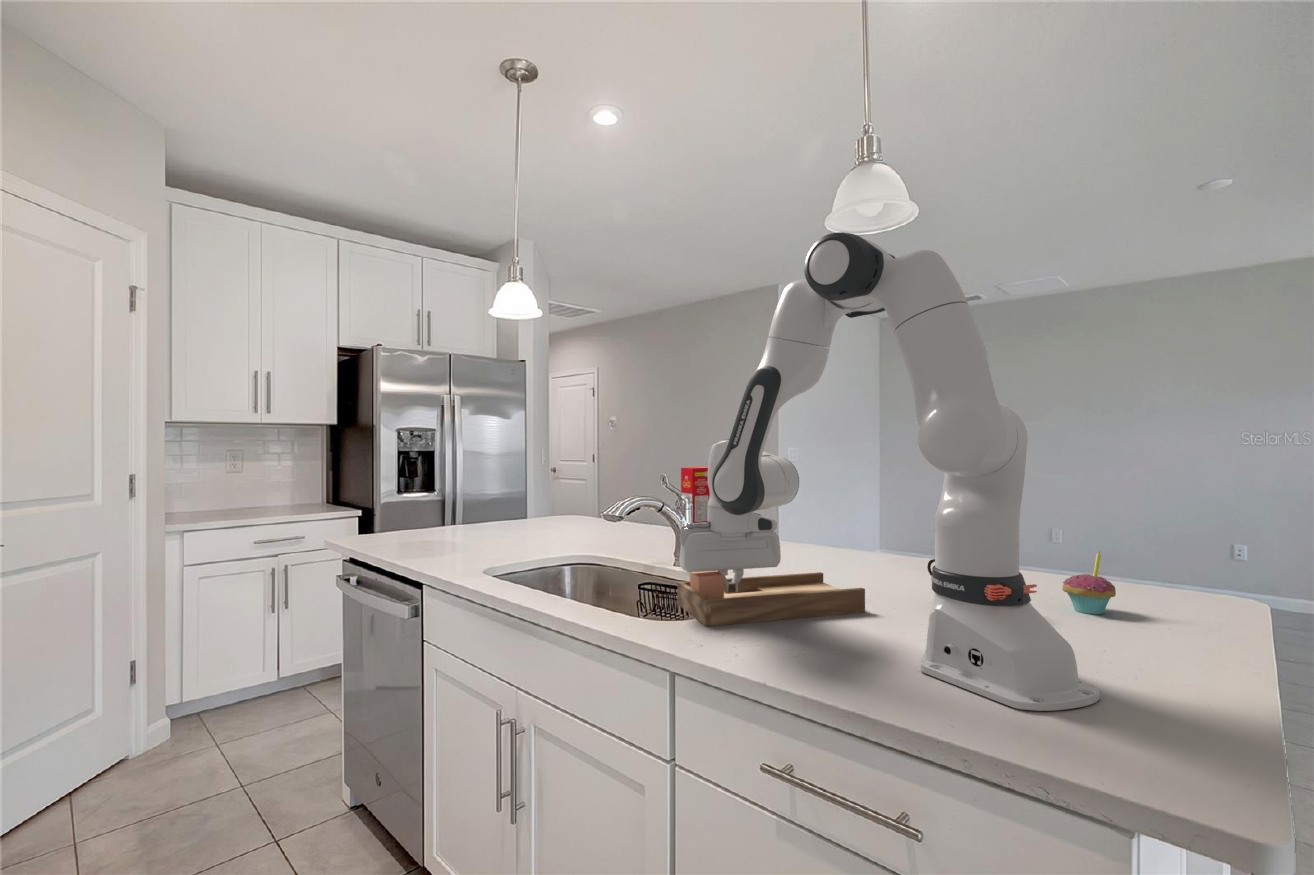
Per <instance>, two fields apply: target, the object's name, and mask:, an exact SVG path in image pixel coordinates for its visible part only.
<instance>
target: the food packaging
mask: <svg viewBox="0 0 1314 875" xmlns="http://www.w3.org/2000/svg"><path fill="white" fill-rule="evenodd" d="M681 492H682V493H683V494H685V495H686V496H687V497H689V498H690V501H692V504H693V523H700V522H708V501H709V497H710V491H709V487H708V466H694V467H693V466H692V467H690V466H689V467H680V493H681Z"/></svg>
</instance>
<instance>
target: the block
mask: <svg viewBox="0 0 1314 875" xmlns="http://www.w3.org/2000/svg"><path fill="white" fill-rule="evenodd" d="M689 579H690V580H689V581H690V587H691V588H692V589H694V590H695V591H697V592H698V593H700V594H701V595H703V596H704V597H706V598H707V599H721V598H724V577H723V574H721V573H719V572H717V571H702V572H689Z"/></svg>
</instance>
